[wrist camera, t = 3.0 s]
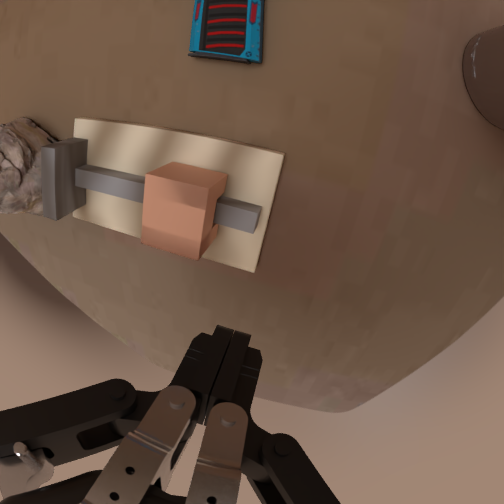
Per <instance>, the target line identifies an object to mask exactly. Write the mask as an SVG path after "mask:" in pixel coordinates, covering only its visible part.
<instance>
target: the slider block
mask: <svg viewBox="0 0 504 504" xmlns="http://www.w3.org/2000/svg"><path fill="white" fill-rule="evenodd" d="M227 176H228V174H225V173H221V172H217V171H212V170H208V169H204V168H199V167H195V166H191V165H186V164H182V163H177V162H171V163H168V164H166V165H164V166H162V167H159V168H157V169H155V170H153V171H151V172H148V173H146V175H145V186H144V199H143V214H142V233H141V243H142V244H145V245H148V246H151V247H155V248H158V249H161V250H164V251H167V252H170V253H174V254H177V255H180V256H183V257H187V258H190V259H193V260H196V261H198V260H199V259H200V258H201V256H202V255H203V254H204V252H205V251H206V250H207V248H208V247H209V246H210V244H211V243H212V242H213V240H214V239H215V238H216V236H217V230H218V224H216V223H213V219H214V213H215V207H216V202H217V199H218V198H219V197H220V196H221V195H222V194H223V193H224V191H225V186H226V181H227Z"/></svg>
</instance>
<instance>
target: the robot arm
mask: <svg viewBox="0 0 504 504" xmlns="http://www.w3.org/2000/svg"><path fill="white" fill-rule="evenodd" d="M463 73H464V79H465V83H466V87H467V90H468V92H469V94H470V97H471V99H472V101H473V102H474V104H475V106H476V107H477V109H478V110H479V111H480V113H481V114H482V115H483V116H484V117H485V118H486V119H487V120H488V121H489V122H490V123H492V124H493V125H495V126H497V127H498V128H501V129H504V25H502V26H499V27H496V28H493V29H491V30H488V31H485V32H482V33H480V34H478V35H476V36H475V37H473V38H472V39H471V40H470V42H469V43H468V45H467V47H466V49H465V53H464V57H463ZM233 332H234V330H233V329H230V328H226V327H223V326H220V325H217V326H216V329H215V331H214V333H213V335H208V334H205V333H201V334H199V335H198V336H197V337H195V338H194V339H193V340H192V342H191V344H190V346H189V349H188V350H187V352H186V354H185V357H184V358H183V360H182V362H181V364H180V366H179V368H178V370H177V372H176V374H175V376H174V378H173V380H172V381H171V383H170V384H169V386H168V387H166V388H164V389H163V390H160V391H156V392H146V391H138V390H135V388H134V387H133V386H132V385H131V383H129V382H128V381H126V380H122V379H111V380H108V381H105V382H102V383H99V384H96V385H92V386H89V387H86V388H83V389H80V390H76V391H73V392H70V393H66V394H63V395H59V396H56V397H53V398H49V399H46V400H42V401H38V402H34V403H31V404H27V405H23V406H19V407H15V408H12V409H7V410H3V411H0V491H1V493H2V496H3V500H2V501H1V502H0V504H236V502H237V497H238V491H239V486H240V480H241V473H243V474H245V475H246V476H247V479H248V481H249V482H250V484H251V486H252V488H253V490H254V491H255V493H256V494H257V496H258V498H259V500H260V501H261V503H262V504H340V502H339V501H338V499H337V498H336V497H335V495H334V494H333V493H332V491H331V490H330V488H329V487H328V485H327V484H326V483H325V481H324V480H323V478H322V477H321V475H320V474H319V473H318V471H317V470H316V468H315V467H314V465H313V464H312V462H311V461H310V459H309V458H308V456H307V455H306V454H305V452H304V451H303V449H302V448H301V446H300V445H299V443H298V442H297V441H296V440H295V439H294V438H293V437H292V436H290V435H287V434H283V433H277V434H270V433H268V432H266V431H265V430H263V429H261V428H260V427H258V426H257V425H256V424H255V423H254V421H253V420H252V417H251V414H250V408H251V404H252V400H253V396H254V392H255V389H256V385H257V381H258V377H259V373H260V369H261V365H262V361H263V360H262V356H261V352H260V350H258V349H254V348H251V347H248V345H249V341H250V338H251V335H250V334H246V333H243V332H240V331H236V330H235V332H234V334H233ZM232 336H233V337H232ZM205 416H206V418H205ZM204 419H205V422H204V425H205V426H206V429H205V433H204V436H203V440H202V444H201V448H200V451H199V456H198V459H197V462H196V465H195V469H194V473H193V477H192V481H191V485H190V488H189V491H188V495H187V497H183V496H175V495H170V494H168V493H166V492H165V491H166V489H167V487H168V484H169V482H170V479H171V476H172V473H173V471H174V469H175V467H176V465H177V464H178V462H179V459H180V458H181V456H182V454H183V451H184V450H185V448H186V446H187V444H188V442H189V440H190V438H191V436H192V434H193V431H194V429H195V426H196V424H197V423H199V424H203V421H204ZM118 445H119V446H118ZM115 446H118V448H117V449H116V451H115V452H114V454H113V455H112V457H111V458H110V460H109V462H108V463H107V465H106V466H105V468H104V469H103V470H95V471H91V472H87V473H84V474H81V475H78V476H76V477H73V478H70V479H67V480H64V481H61V482H58V483H55V484H51V485H48V486H45V487H42V488H39V486H40V485H41V484H43V483H45V482H47V481H49V480H50V479H51V477H52V476H53V473H54V466H58V465H61V464H64V463H67V462H71V461H74V460H77V459H81V458H84V457H87V456H90V455H93V454H96V453H98V452H101V451H104V450H107V449H110V448H112V447H115Z"/></svg>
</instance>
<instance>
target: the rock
mask: <svg viewBox="0 0 504 504" xmlns="http://www.w3.org/2000/svg"><path fill="white" fill-rule="evenodd" d="M55 142H58V141H57V140H56V139H55V138H53V137H52V136H49V135H48V134H47V133H46V132H45V131H43V130H42V129H40V128H39V127H37V126H36V125H35V123H32V121H31V120H29V119H27V118H19V119H16V120H14V121H11V122H9V123H6V124H1V125H0V213H6V214H9V213H30V214H35V215H38V216H42V215H43V201H42V181H41V147H42V146H45V145H49V144H52V143H55Z"/></svg>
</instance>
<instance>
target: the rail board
mask: <svg viewBox="0 0 504 504" xmlns="http://www.w3.org/2000/svg"><path fill="white" fill-rule="evenodd" d="M284 156H285V153H283V152H279V151H275V150H271V149H267V148H263V147H259V146H255V145H251V144H246V143H242V142H238V141H233V140H229V139H224V138H219V137H214V136H209V135H204V134H199V133H194V132H188V131H183V130H177V129H171V128H165V127H159V126H153V125H146V124H139V123H131V122H124V121H115V120H107V119H97V118H87V117H80V118H75V125H74V138H70V139H66V140H63V141H59V142H55V143H52V144H49V145H45V146H42V147H41V181H42V201H43V215H44V217H47V218H50V219H53V220H55V221H57V220H59V219H61V218H62V217H64V216H66V215H68V214H69V213H71V212H73V217H76V218H79V219H82V220H85V221H88V222H91V223H94V224H97V225H100V226H103V227H107V228H110V229H113V230H116V231H119V232H122V233H125V234H129V235H132V236H135V237H138V238H141V233H142V214H143V199H144V186H145V175H146V173H148V172H151V171H153V170H155V169H157V168H159V167H162V166H164V165H166V164H168V163H171V162H177V163H182V164H186V165H191V166H195V167H199V168H204V169H208V170H212V171H217V172H221V173H225V174H228V176H227V181H226V186H225V191H224V193H223V194H222V195H221V196H220V197H219V198H218V199H217V202H216V207H215V213H214V219H213V223H216V224H218V230H217V236H216V238H215V239H214V240H213V242H212V243H211V244H210V246H209V247H208V248H207V250H206V251H205V252H204V254H203V255H202V256H201V257H203V258H206V259H209V260H213V261H216V262H219V263H223V264H226V265H229V266H233V267H236V268H239V269H243V270H246V271H250V272H253V273H254V272H255V269H256V267H257V263H258V259H259V255H260V251H261V247H262V243H263V239H264V235H265V232H266V228H267V224H268V220H269V216H270V212H271V208H272V204H273V200H274V196H275V192H276V188H277V184H278V180H279V176H280V172H281V168H282V164H283V160H284Z"/></svg>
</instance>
